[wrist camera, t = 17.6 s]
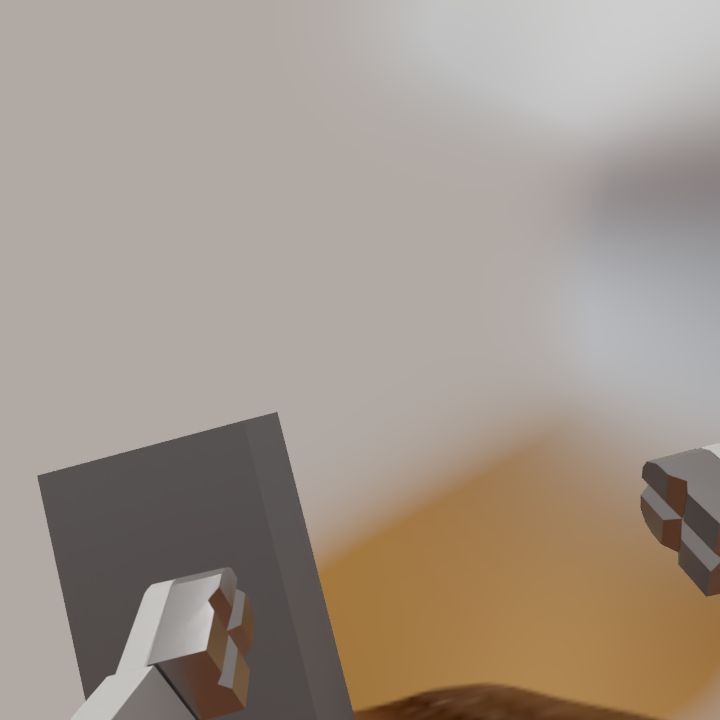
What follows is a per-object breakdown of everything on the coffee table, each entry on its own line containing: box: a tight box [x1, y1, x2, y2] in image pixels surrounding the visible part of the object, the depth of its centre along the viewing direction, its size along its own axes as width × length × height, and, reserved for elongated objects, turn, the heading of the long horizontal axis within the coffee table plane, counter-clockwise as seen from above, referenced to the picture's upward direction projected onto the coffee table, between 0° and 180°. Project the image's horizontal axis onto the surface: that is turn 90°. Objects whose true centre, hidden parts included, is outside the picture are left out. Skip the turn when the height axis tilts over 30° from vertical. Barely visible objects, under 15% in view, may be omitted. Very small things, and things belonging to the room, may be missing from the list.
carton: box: [38, 412, 355, 720], centre depth 28 cm, size 8×12×26 cm, turn 87°
